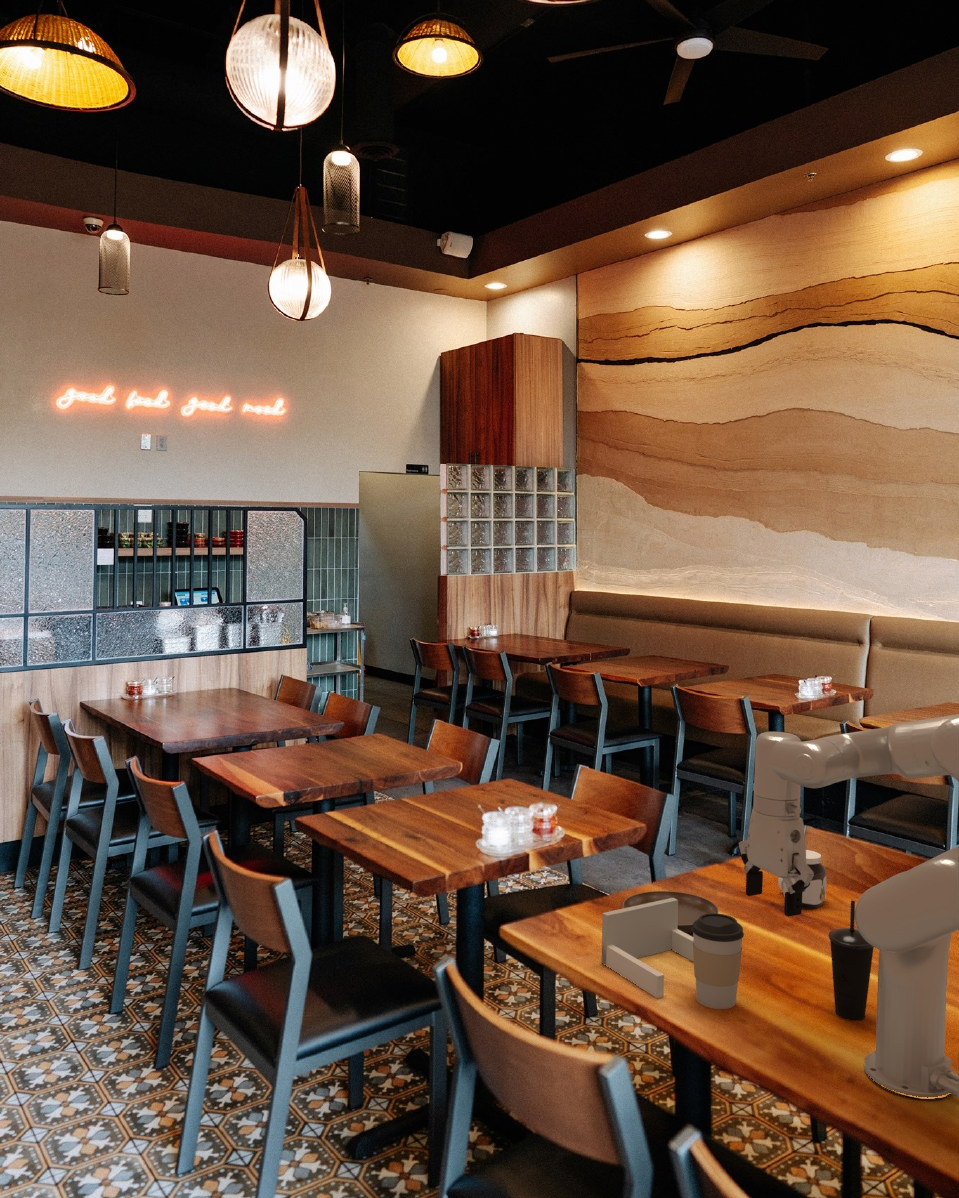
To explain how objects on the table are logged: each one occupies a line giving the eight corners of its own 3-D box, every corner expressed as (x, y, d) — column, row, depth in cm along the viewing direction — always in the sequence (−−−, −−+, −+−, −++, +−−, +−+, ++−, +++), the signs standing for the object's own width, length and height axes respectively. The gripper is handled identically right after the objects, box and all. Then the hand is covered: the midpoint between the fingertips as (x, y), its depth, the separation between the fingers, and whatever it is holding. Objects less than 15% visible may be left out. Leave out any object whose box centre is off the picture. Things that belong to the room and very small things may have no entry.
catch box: (730, 977, 176) (731, 925, 176) (657, 998, 167) (658, 943, 167) (672, 945, 191) (673, 897, 190) (601, 963, 182) (602, 912, 181)
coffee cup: (680, 993, 169) (681, 912, 169) (719, 984, 173) (721, 905, 172) (712, 1016, 161) (714, 930, 160) (753, 1006, 165) (755, 922, 164)
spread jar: (809, 913, 209) (810, 862, 209) (763, 899, 218) (765, 850, 217) (834, 900, 217) (835, 851, 217) (790, 888, 226) (791, 840, 225)
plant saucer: (603, 920, 205) (603, 905, 204) (657, 896, 219) (657, 883, 219) (684, 948, 190) (685, 932, 190) (736, 921, 205) (736, 906, 205)
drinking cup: (834, 999, 168) (837, 890, 167) (879, 1012, 163) (882, 900, 162) (820, 1015, 162) (823, 901, 161) (865, 1029, 157) (868, 912, 156)
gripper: (831, 817, 152) (827, 920, 152) (759, 791, 167) (756, 884, 168) (795, 821, 149) (791, 926, 149) (726, 795, 164) (722, 890, 165)
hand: (772, 904), depth 159 cm, fingers open, 9 cm apart
